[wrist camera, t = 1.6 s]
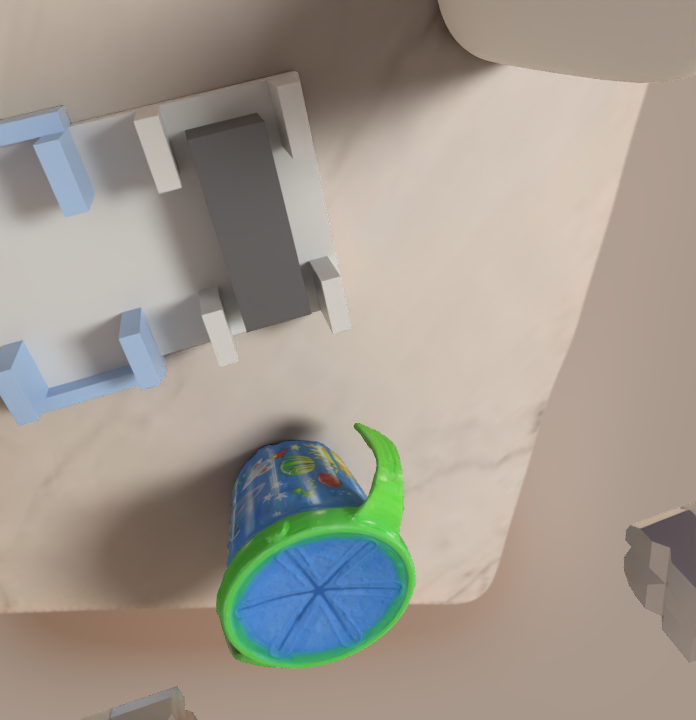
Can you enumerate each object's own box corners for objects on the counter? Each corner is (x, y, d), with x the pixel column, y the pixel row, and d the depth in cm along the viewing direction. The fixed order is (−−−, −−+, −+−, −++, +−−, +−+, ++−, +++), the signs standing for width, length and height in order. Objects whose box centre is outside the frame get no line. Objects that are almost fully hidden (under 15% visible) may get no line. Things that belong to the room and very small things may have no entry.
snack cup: (306, 354, 37) (349, 459, 28) (421, 433, 42) (487, 541, 34) (150, 529, 40) (147, 670, 32) (275, 582, 46) (301, 715, 37)
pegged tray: (-112, 146, 27) (-152, 165, 23) (290, 52, 29) (307, 57, 26) (30, 398, 34) (15, 441, 31) (344, 307, 36) (363, 338, 33)
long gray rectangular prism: (184, 130, 28) (186, 140, 26) (256, 112, 29) (264, 121, 27) (241, 311, 33) (246, 332, 31) (301, 294, 34) (311, 313, 32)
